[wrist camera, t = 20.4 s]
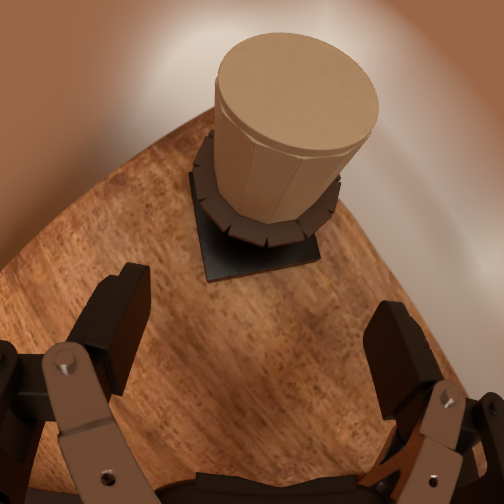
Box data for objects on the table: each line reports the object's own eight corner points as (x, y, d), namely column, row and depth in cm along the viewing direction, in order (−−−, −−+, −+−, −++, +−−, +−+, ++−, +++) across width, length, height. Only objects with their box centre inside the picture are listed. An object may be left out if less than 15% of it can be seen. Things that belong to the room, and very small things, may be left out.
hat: (208, 259, 16) (199, 204, 8) (186, 125, 18) (175, 24, 10) (354, 231, 17) (437, 174, 10) (314, 112, 19) (356, 23, 11)
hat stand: (207, 283, 24) (190, 221, 9) (189, 179, 26) (167, 29, 10) (315, 261, 26) (437, 185, 10) (289, 164, 27) (355, 27, 12)
